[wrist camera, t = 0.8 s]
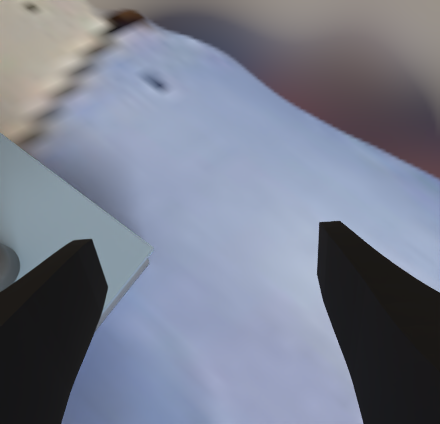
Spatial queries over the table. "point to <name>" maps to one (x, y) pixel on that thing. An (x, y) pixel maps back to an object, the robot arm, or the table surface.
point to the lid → (57, 223)
